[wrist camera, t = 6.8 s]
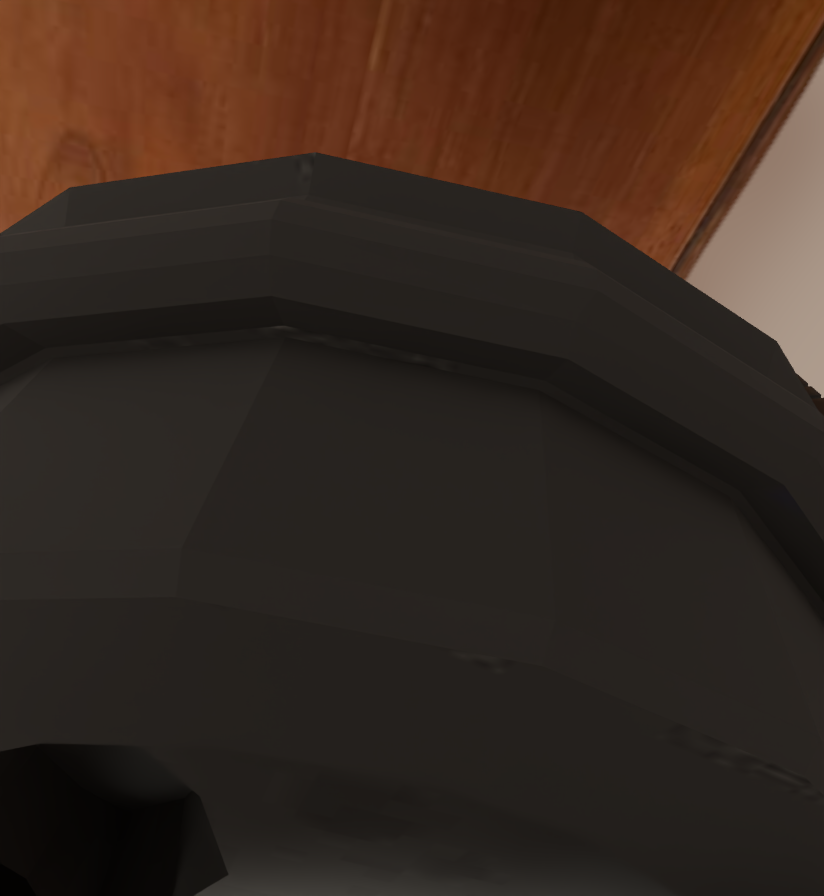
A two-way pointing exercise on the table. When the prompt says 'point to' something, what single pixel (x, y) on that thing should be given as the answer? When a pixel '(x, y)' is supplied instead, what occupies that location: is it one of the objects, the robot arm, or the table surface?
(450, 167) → the table surface
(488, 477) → the coffee cup
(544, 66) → the table surface
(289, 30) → the table surface
